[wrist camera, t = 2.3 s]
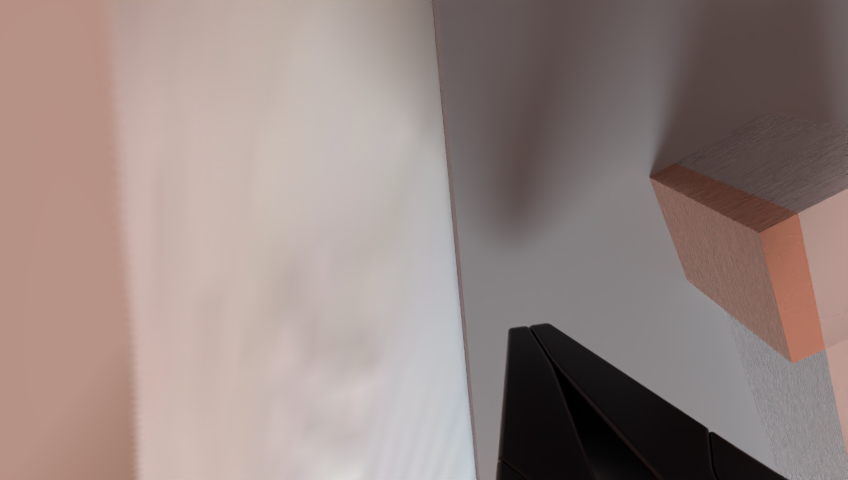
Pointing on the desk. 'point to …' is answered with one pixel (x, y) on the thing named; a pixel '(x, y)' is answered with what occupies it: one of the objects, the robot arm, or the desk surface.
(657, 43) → the mat
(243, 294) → the desk surface
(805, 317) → the tong arm
